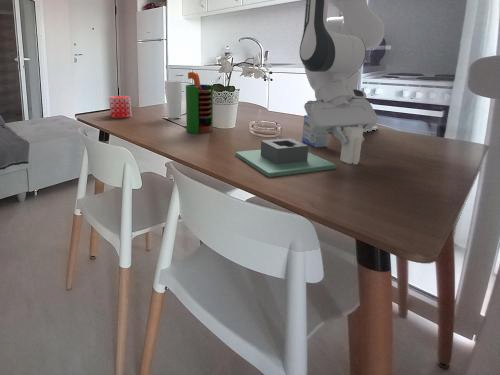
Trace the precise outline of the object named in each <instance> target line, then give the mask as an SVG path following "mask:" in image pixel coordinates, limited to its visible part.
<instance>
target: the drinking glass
mask: <svg viewBox="0 0 500 375" xmlns="http://www.w3.org/2000/svg"><path fill="white" fill-rule="evenodd" d="M182 83H183V82H182V81H181V80H179V79H178V80H174V79H173V80H172V79H171V80H164V92H165V93H164V94H165V99H166V107H167V115H168V116H167V117H168V119H171V118H179V117H181V118H182V98H183V96H182V95H183V84H182ZM179 119H180V118H179Z"/></svg>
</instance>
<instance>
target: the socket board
mask: <svg viewBox="0 0 500 375" xmlns="http://www.w3.org/2000/svg"><path fill="white" fill-rule="evenodd" d="M235 156H236V157H237V158H239V159H240V160H242V161H244V162H245V163H247V165H250V166H251V167H253V169H255V170H257V171H259V172H261V173H262V174H263V175H265V176H266V177H267V178H273V177H274V178H275V177H279V176H289V175H296V174H297V175H298V174H303V173H304V174H305V173H311V172H319V171H320V172H321V171H328V170H334V169H335V170H336V168H337V164H335V163H333V162H331V161H329V160H326V159H324V158H322V157H320V156H317V155H315V154H313V153H311V152H309V145H308V144H306V143H303V142H302V141H301V142H300V141H298V140H296V139H294V138H290V137H289V138H288V137H287V138H278V139H277V138H275V139H267V140H266V139H265V140H260V149H251V150H243V151H235Z"/></svg>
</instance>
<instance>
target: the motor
mask: <svg viewBox="0 0 500 375" xmlns="http://www.w3.org/2000/svg"><path fill="white" fill-rule="evenodd" d="M187 79H188V80H191V79H192V80H193V83H192V84H191V83H190V84H186V85H185V113H186V115H185V118H186V122H185V123H186V132H187V133H191V134H197V135H198V134H207V133H208V134H209V133H211V132H213V131H212V130H213V129H214V128H213V120H214V119H213V109H214V108H213V106H214V105H213V103H214V102H213V101H214V100H213V97H214V96H213V95H214V94H213V92H214V90H213V89H214V88H213V85H212V84H203V83H202V84H201V80H200V75H199V74H198V73H197V72H196V71H191V72H188V73H187Z"/></svg>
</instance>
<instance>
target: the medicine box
mask: <svg viewBox="0 0 500 375" xmlns="http://www.w3.org/2000/svg"><path fill="white" fill-rule="evenodd" d="M302 124H303V126H302V134H301V135H302V137H301V138H302V139H301V143H303V144H306V145H308V146H311V147H314V148H321V147H327V145H328V144H327V142H328V134H329V132H324V133H314V132H313V131H312V130H311V128H310V125H309V122H308V117H307V114H304V116H303V123H302Z"/></svg>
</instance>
